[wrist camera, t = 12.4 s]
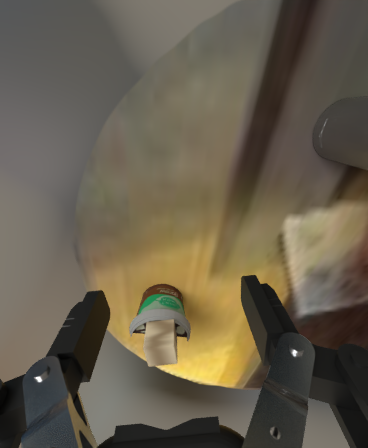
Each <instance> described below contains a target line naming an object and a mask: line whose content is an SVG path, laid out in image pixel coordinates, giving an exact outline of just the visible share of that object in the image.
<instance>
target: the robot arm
mask: <svg viewBox="0 0 368 448" xmlns="http://www.w3.org/2000/svg"><path fill="white" fill-rule="evenodd" d="M313 145H314V148H315V150H316V152H317V153H318V154H319V155H320V156H321V157H323V158H326V159H329V160H333V161H336V162H340V163H343V164H347V165H350V166H354V167H358V168H362V169H365V170H368V96H364V97H355V98H346V99H343V100H340V101H338V102H336V103H334V104H333V105H331V106H330V107H329V108H327V110H326V111H325V112H324V113H323V114H322V115H321V117H320V118H319V120H318V122H317V124H316V126H315V129H314V133H313ZM241 302H242V306H243V309H244V312H245V315H246V318H247V320H248V323H249V326H250V329H251V332H252V335H253V337H254V340H255V343H256V346H257V349H258V352H259V355H260V357H261V360H262V363H263V366H266V365H270V368H269V371H268V374H267V377H266V380H265V381H264V382H263V385H262V388H261V391H260V394H259V397H258V400H257V403H256V407H255V409H254V412H253V415H252V418H251V421H250V425H249V427H248V430H247V434H246V436H245V438H244V437H242V436H241V435H240V434H239V433H237V432H236V431H234V430H232V429H231V428H228V427H226V426H223V425H219V420H218V417H206V418H196V419H191V420H189V421H187V422H184V423H182V424H180V425H178V426H176V427H173V428H171V429H168V430H163V429H159V428H155V427H152V426H148V425H144V424H131V425H121V426H116V429H115V434H114V436H112V437H110V438H108V439H107V440H105V441H104V442H103V443H101V444H100V445H99V446H98V445H97V443H96V440H95V438H94V436H93V434H92V431H91V429H90V426H89V423H88V419H87V417H86V413H85V410H84V407H83V404H82V400H81V397H80V394H79V392H78V389H79V386H80V383H81V382H89V381H90V379H91V375H92V372H93V369H94V366H95V363H96V360H97V356H98V354H99V351H100V347H101V345H102V341H103V338H104V335H105V332H106V329H107V326H108V323H109V320H110V308H109V306H108V303H107V300H106V297H105V295H104V292H103V291H102V290H99V291H90V292H87V294H86V296H85V298H84V300H83V301H82V302H79V303H77V304H76V305H75V306H74V307H73V308H72V309H71V311H70V313H69V315H68V316H67V318H66V320H65V322H64V324H63V327H62V328H61V329H60V331H59V333H58V335H57V337H56V339H55V341H54V342H53V344H52V346H51V348H50V350H49V352H48V353H47V355H46V357H44V358H42V359H40V360H38V361H37V362H36V363H34V364H33V365H32V366H31V367H30V369H29V370H28V371H27V372H26V374H24V375H22V376H19V377H17V378H14V379H12V380H9V381H7V382H4V383H3V382H2V381H1V379H0V448H19V445H20V443H21V446H22V448H302V444H303V438H304V431H305V425H306V418H307V412H308V405H307V404H308V398H312V399H315V400H319V401H322V402H326V403H329V404H330V407H331V409H332V411H333V413H334V415H335V417H336V419H337V421H338V423H339V425H340V427H341V430H342V432H343V434H344V436H345V438H346V440H347V442H348V444H349V446H350V448H368V351H367V350H366V349H364V348H362V347H360V346H357V345H354V344H344V345H341V346H340V347H339V349H338V350H334V349H329V348H324V347H320V346H316V345H314V344H312V343H310V342H309V340H307V339H306V338H305V337H303V336H302V335H300V334H299V333H298V331H297V330H296V328H295V326H294V324H293V322H292V321H291V319H290V317H289V315H288V314H287V312H286V310H285V308H284V307H283V306H282V303H281V301H280V299H279V298H278V296H277V294H276V292H275V291H274V289H272V288H271V287H270V286H269V285H268V284H267V283H265V284H260V283H259V281H258V279H257V277H256V275H250V276H242V278H241ZM26 429H27V430H26Z"/></svg>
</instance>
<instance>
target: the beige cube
mask: <svg viewBox="0 0 368 448" xmlns="http://www.w3.org/2000/svg"><path fill="white" fill-rule="evenodd" d="M143 350H144V353H145V356H146V360H147V363H148V366H159V365H168V364H177V335H176V329H175V323H174V319H171V320H161V321H152V322H147V323H146V331H145V339H144V347H143Z"/></svg>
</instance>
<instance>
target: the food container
mask: <svg viewBox="0 0 368 448" xmlns="http://www.w3.org/2000/svg"><path fill="white" fill-rule="evenodd" d="M171 319H174V323H175V329H176V335H177V336H179V337H187V341H188V340H189V337H190V330H191V328H190V323H189V322H188V320H187V319H186V318H185V312H184V307H183V301H182V296H181V293H180V292H179V291H178V289H176V288H175V287H173V286H171V285H167V284H158V285H154V286H152V287H150V288H148V289H147V290H146V291H145V292H144V294H143V297H142V300H141V303H140V306H139V310H138V313H137V316H136V317H135V318H134V319H133V321H132V322H131V324H130V334H131V336H132V333H143V334H145V331H146V323H147V322H152V321H161V320H171Z"/></svg>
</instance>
